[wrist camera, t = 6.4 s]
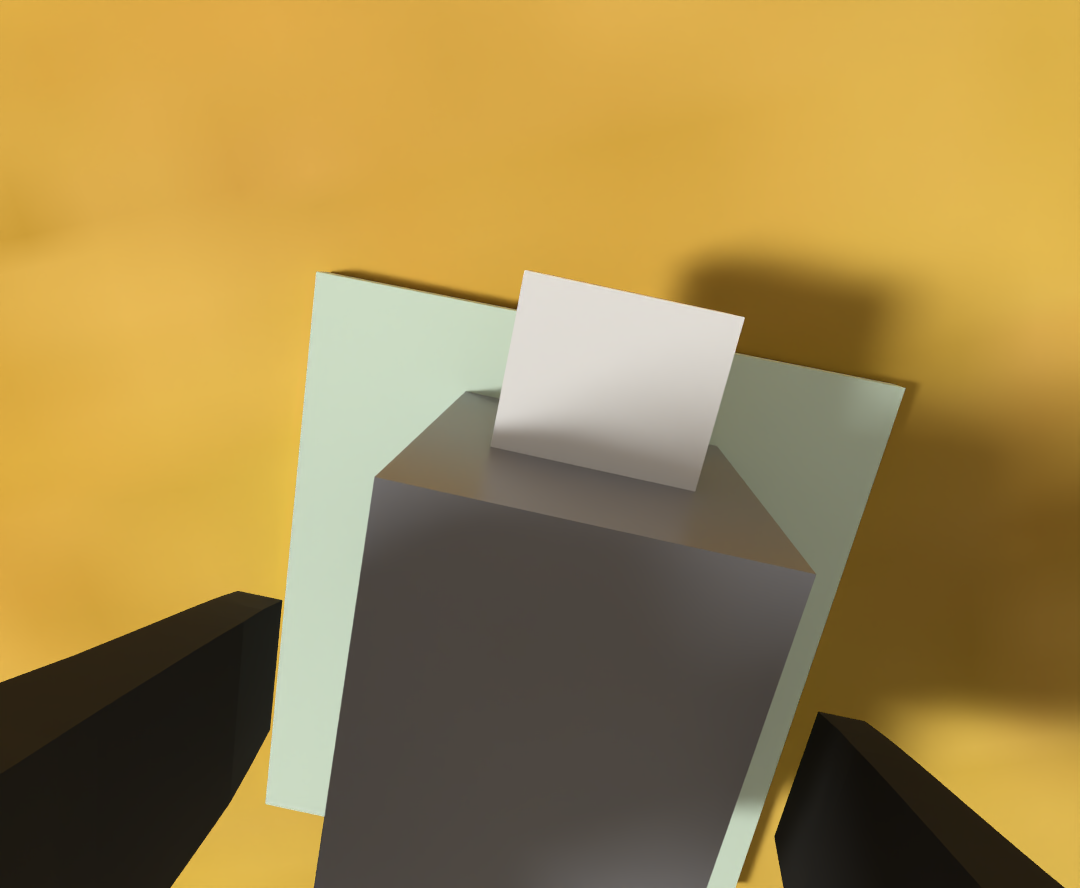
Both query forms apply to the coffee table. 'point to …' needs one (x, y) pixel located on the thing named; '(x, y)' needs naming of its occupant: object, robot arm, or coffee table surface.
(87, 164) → the coffee table surface
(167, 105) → the coffee table surface
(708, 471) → the grey power adapter
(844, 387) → the mat
